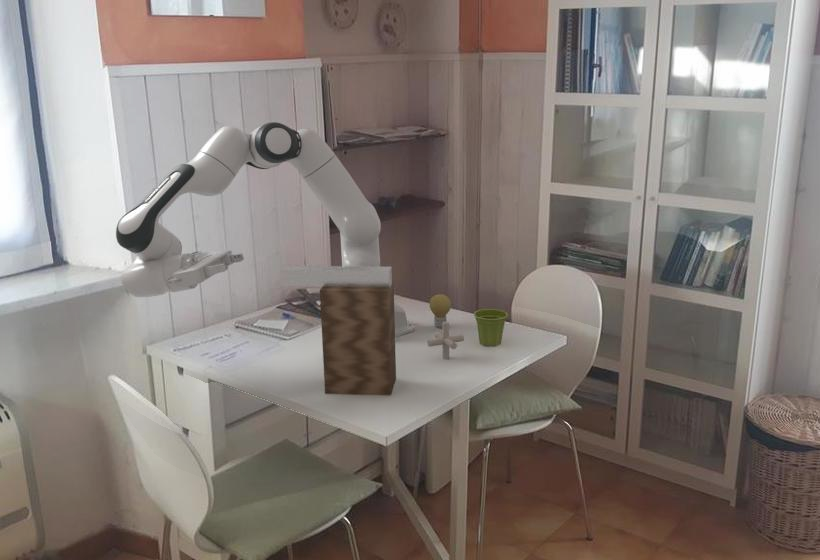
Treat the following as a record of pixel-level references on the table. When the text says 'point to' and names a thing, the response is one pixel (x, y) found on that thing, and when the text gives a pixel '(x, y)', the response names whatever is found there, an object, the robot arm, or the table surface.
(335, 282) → the aluminium bar
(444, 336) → the pipe connector
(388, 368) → the walnut stand
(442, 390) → the table surface
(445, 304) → the light bulb
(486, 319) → the plant pot
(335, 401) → the table surface
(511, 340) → the table surface
